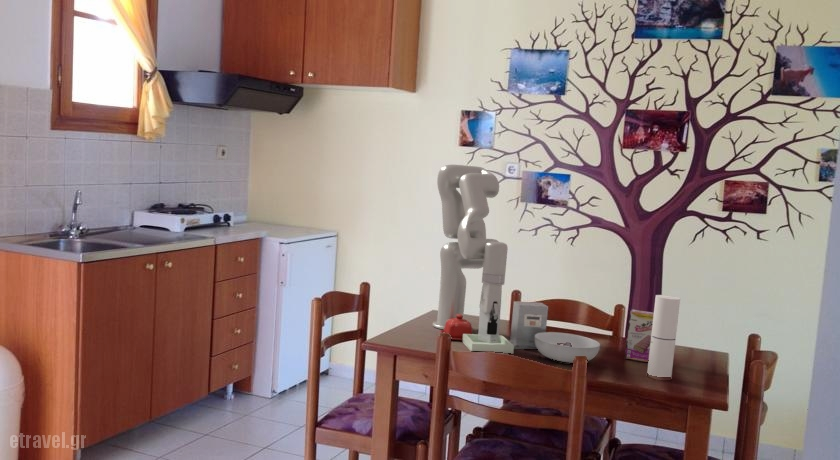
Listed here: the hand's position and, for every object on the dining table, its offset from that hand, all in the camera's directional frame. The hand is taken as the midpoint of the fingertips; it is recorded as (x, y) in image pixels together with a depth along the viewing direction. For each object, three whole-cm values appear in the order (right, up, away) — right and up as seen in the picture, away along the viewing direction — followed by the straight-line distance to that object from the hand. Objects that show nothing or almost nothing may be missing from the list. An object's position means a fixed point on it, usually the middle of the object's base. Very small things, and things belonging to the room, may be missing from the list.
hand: (488, 331), depth 254 cm
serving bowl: (+24, -8, -7) cm, 27 cm away
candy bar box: (+51, -10, 0) cm, 52 cm away
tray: (0, -5, 0) cm, 5 cm away
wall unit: (+14, -6, +7) cm, 16 cm away
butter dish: (-10, -4, +12) cm, 16 cm away
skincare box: (0, -3, 0) cm, 4 cm away
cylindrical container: (+50, -12, -20) cm, 56 cm away
